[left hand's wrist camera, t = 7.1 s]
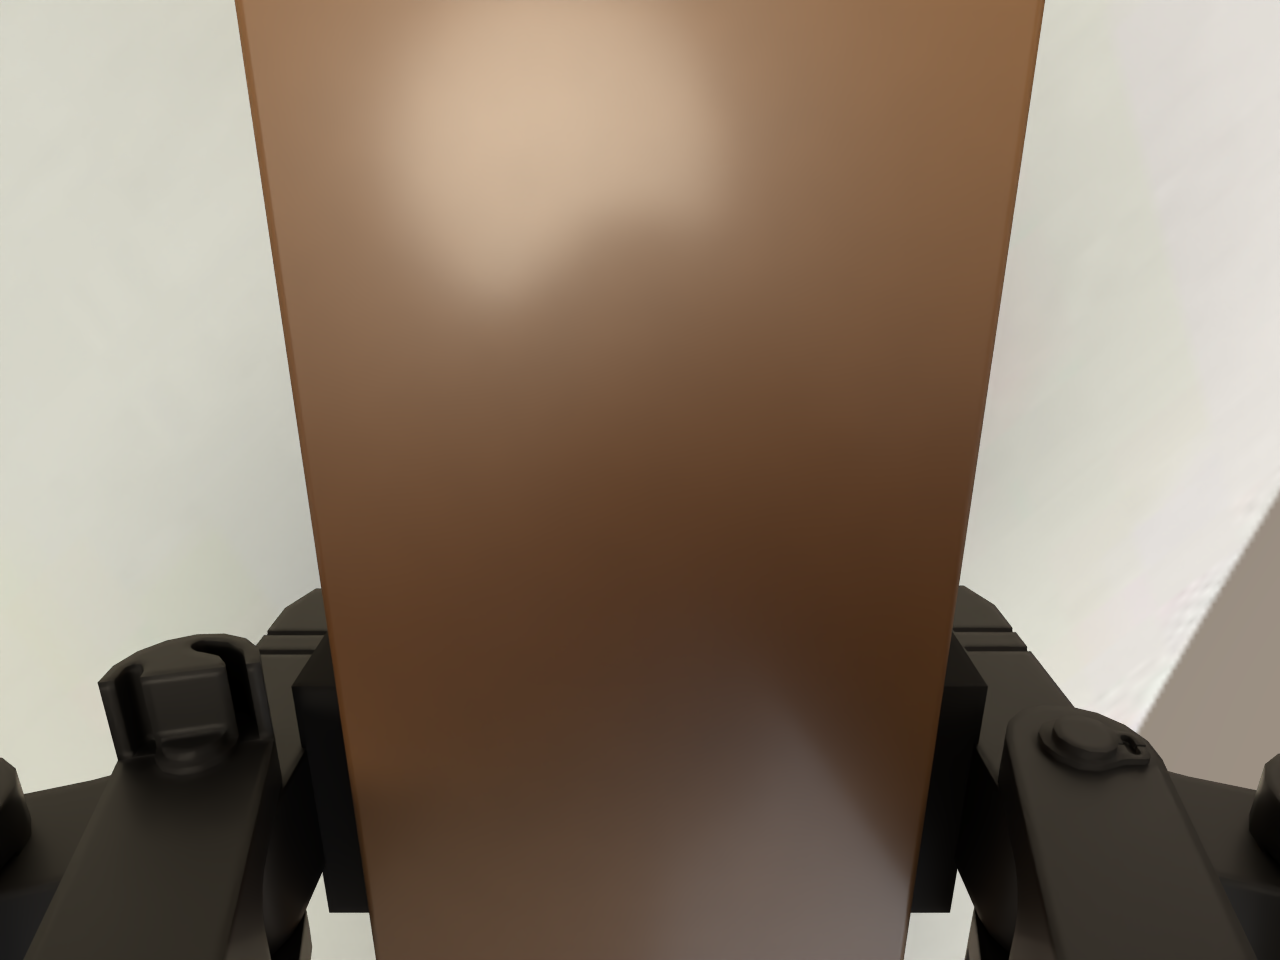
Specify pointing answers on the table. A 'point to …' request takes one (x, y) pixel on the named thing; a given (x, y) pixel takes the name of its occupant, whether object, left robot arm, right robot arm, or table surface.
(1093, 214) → the table surface
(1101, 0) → the table surface
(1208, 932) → the left robot arm
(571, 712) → the bar
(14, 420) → the table surface
